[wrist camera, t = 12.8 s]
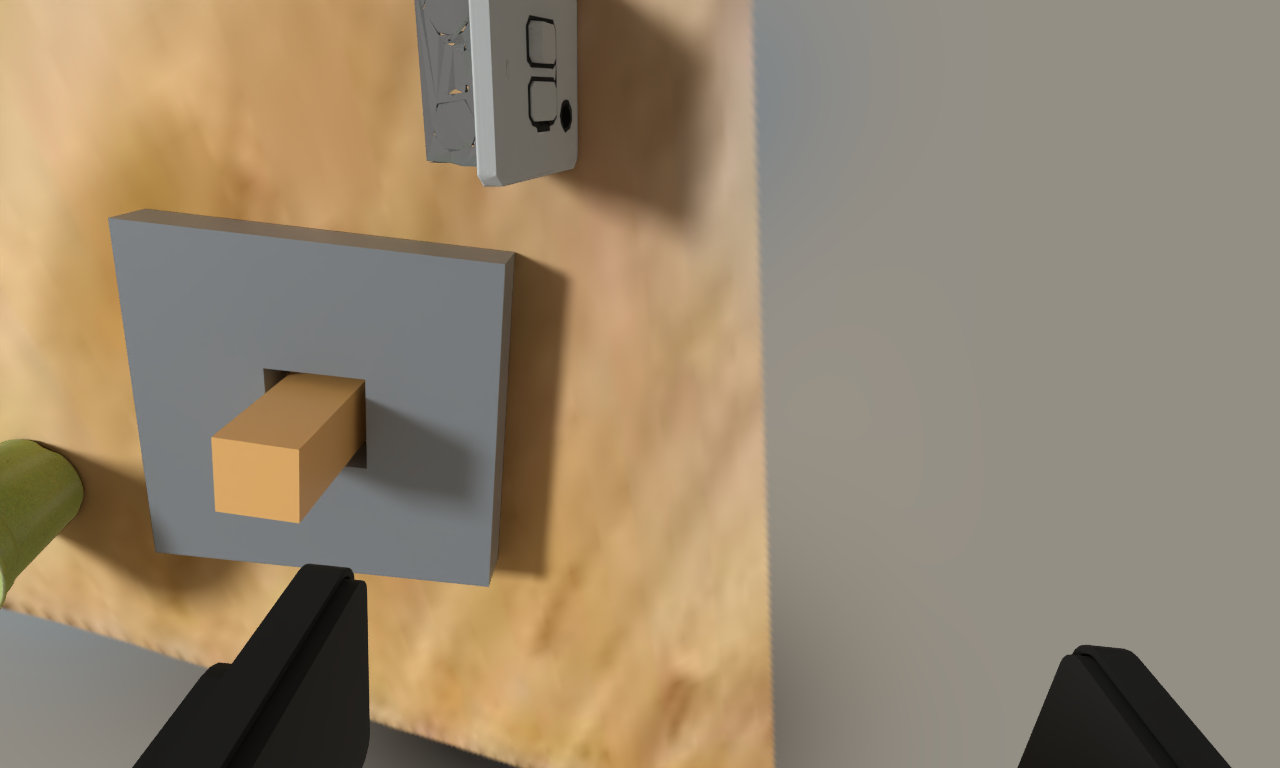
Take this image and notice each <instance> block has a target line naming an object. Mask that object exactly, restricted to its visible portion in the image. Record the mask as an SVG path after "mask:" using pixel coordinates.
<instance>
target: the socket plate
mask: <svg viewBox="0 0 1280 768" xmlns="http://www.w3.org/2000/svg"><path fill="white" fill-rule="evenodd" d="M108 220H109V227H110V234H111V242H112V249H113V256H114V263H115V270H116V277H117V284H118V291H119V298H120V305H121V312H122V319H123V326H124V333H125V340H126V347H127V354H128V361H129V368H130V375H131V382H132V389H133V396H134V403H135V410H136V417H137V424H138V431H139V438H140V445H141V452H142V459H143V466H144V473H145V480H146V487H147V494H148V501H149V509H150V516H151V523H152V530H153V537H154V544H155V551H156V552H158V553H168V554H177V555H187V556H196V557H206V558H216V559H225V560H235V561H245V562H254V563H264V564H274V565H283V566H293V567H303V566H304V565H305V564H308V563H309V564H318V565H328V566H337V567H347V568H350V569H352V571H353V573H360V574H370V575H380V576H389V577H399V578H409V579H418V580H428V581H438V582H447V583H457V584H466V585H476V586H486V587H489V585H490V581H491V578H492V575H493V572H494V569H495V566H496V563H497V560H498V549H499V531H500V512H501V494H502V476H503V458H504V440H505V422H506V404H507V386H508V368H509V350H510V332H511V314H512V295H513V277H514V259H515V252H509V251H501V250H492V249H484V248H475V247H467V246H458V245H450V244H441V243H432V242H424V241H415V240H407V239H398V238H390V237H381V236H373V235H364V234H356V233H347V232H339V231H330V230H322V229H313V228H305V227H296V226H288V225H279V224H271V223H262V222H254V221H245V220H236V219H228V218H219V217H211V216H202V215H194V214H185V213H177V212H168V211H160V210H151V209H142V210H138V211H134V212H130V213H126V214H122V215H118V216H114V217H110V218H108ZM289 371H292V372H301V373H310V374H319V375H328V376H337V377H346V378H355V379H364V380H365V391H366V443H367V444H366V443H363V444H362V445H361V447H360V448H359V449H358V450H357V452H356V453H355V454H354V455H353V457H352V458H351V459H350V460H349V462H348V463H347V464H346V466H345V467H344V468H343V469H342V471H341V472H340V473H339V474H338V476H337V477H336V478H335V479H334V481H333V482H332V483H331V484H330V486H329V487H328V488H327V489H326V491H325V492H324V493H323V494H322V496H321V497H320V498H319V499H318V501H317V502H316V503H315V505H314V506H313V507H312V508H311V510H310V511H309V512H308V513H307V515H306V516H305V517H304V518H303V520H302V521H301V522H300V523H293V522H286V521H279V520H272V519H265V518H258V517H251V516H244V515H237V514H230V513H223V512H216V511H215V498H214V479H213V461H212V442H211V437H212V436H213V435H214V434H216V433H217V432H218V431H219V430H221V429H222V428H223V427H224V426H225V425H227V424H228V423H229V422H230V421H232V420H233V419H234V418H235V417H237V416H238V415H239V414H240V413H242V412H243V411H244V410H245V409H246V408H248V407H249V406H250V405H251V404H253V403H254V402H255V401H256V400H258V399H259V398H260V397H261V396H263V395H264V394H265V393H266V392H268V391H269V390H270V389H271V388H272V387H274V386H275V385H276V384H277V383H279V382H280V381H281V380H282V379H284V378H285V377H286V376H287V375H289Z"/></svg>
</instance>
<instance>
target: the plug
mask: <svg viewBox="0 0 1280 768" xmlns="http://www.w3.org/2000/svg"><path fill="white" fill-rule="evenodd" d="M365 440H366V391H365V380H364V379H355V378H346V377H337V376H328V375H319V374H310V373H301V372H291V373H290V374H289V375H287V376H286V377H285V378H284V379H282V380H281V381H280V382H279V383H277V384H276V385H275V386H274V387H272V388H271V389H270V390H269V391H268V392H266V393H265V394H264V395H263V396H261V397H260V398H259V399H258V400H256V401H255V402H254V403H253V404H251V405H250V406H249V407H248V408H246V409H245V410H244V411H243V412H242V413H240V414H239V415H238V416H237V417H235V418H234V419H233V420H232V421H230V422H229V423H228V424H227V425H225V426H224V427H223V428H222V429H221V430H219V431H218V432H217V433H216V434H214V435H213V436H212V437H211V442H212V461H213V479H214V498H215V511H216V512H223V513H230V514H237V515H244V516H251V517H258V518H265V519H272V520H279V521H286V522H293V523H300V522H301V521H302V520H303V518H304V517H305V516H306V515H307V513H308V512H309V511H310V510H311V508H312V507H313V506H314V505H315V503H316V502H317V501H318V499H319V498H320V497H321V496H322V494H323V493H324V492H325V491H326V489H327V488H328V487H329V486H330V484H331V483H332V482H333V481H334V479H335V478H336V477H337V476H338V474H339V473H340V472H341V471H342V469H343V468H344V467H345V466H346V464H347V463H348V462H349V460H350V459H351V458H352V457H353V455H354V454H355V453H356V452H357V450H358V449H359V448H360V447H361V445H362V444H363V443H364V442H365Z"/></svg>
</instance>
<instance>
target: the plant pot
mask: <svg viewBox="0 0 1280 768" xmlns="http://www.w3.org/2000/svg"><path fill="white" fill-rule="evenodd" d="M83 497H84V491H83V486H82V482H81V480H80V478H79V476H78V474H77V472H76V471H75V469H74V468H73V466H72V465H71V464H70V463H69V462H68V461H67V460H66V459H65V458H64V457H63V456H62V455H60V454H59V453H56V452H52V451H49V450H47V449H45V448H43V447H41V446H40V445H38V444H37V443H36V442H34V441H29V440H9V441H4V442H2V443H0V609H1V607H2V605H3V603H4V601H5V598H6V595H7V592H8V591H9V590H10V588H11V587H12V585H13V583H14V581H15V579H16V578H17V576H18V575H19V574H20V573H21V572H22V571H23V570H24V569H25V568H26V567H27V566H28V565H29V564H30V563H31V562H32V561H33V560H34V559H35V558H36V557H37V556H38V554H39V553H40V552H41V551H42V550H43V549H44V548H45V547H46V546H47V545H48V544H49V543H50V542H51V541H52V540H53V539H54V538H55V537H56V536H57V535H58V534H59V533H60V532H61V531H62V530H63V529H64V527H65V526H66V525H67V524H68V523H69V522H70V521H71V520H72V519H73V518H74V517H75V516H76V515H77V513H78V511H79V508H80V505H81V503H82V500H83Z"/></svg>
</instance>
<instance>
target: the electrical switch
mask: <svg viewBox="0 0 1280 768" xmlns="http://www.w3.org/2000/svg"><path fill="white" fill-rule="evenodd" d="M424 4H425V8H424V9H423V7H424ZM415 12H416V25H417V38H418V51H419V64H420V77H421V90H422V103H423V116H424V129H425V142H426V155H427V161H434V162H436V163H453V164H457V165H460V166H474V167H477V176H478V178H479V179H480V181H481V182H482V184H483V185H484V187H487V186H506V185H510V184H514V183H518V182H522V181H526V180H530V179H534V178H538V177H542V176H546V175H550V174H554V173H558V172H562V171H566V170H570V169H574V167H575V164H576V161H577V158H578V99H577V0H415ZM464 26H466V27H465V29H464V31H461V30H462V29H463V27H464ZM440 33H442V34H445V35H441V34H440ZM446 43H455V44H454V45H453V46H451V45H448V44H446ZM464 44H465V46H464ZM465 47H466V49H465ZM467 86H469V90H467ZM454 89H457V90H459V91H461V92H462V93H458V94H449V93H450V92H451V91H453V90H454ZM436 108H437V109H436ZM434 133H435V135H436V136H435V135H434ZM472 145H474V147H472V148H471V146H472Z"/></svg>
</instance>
